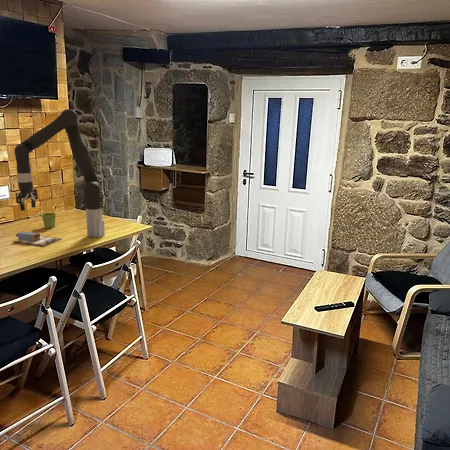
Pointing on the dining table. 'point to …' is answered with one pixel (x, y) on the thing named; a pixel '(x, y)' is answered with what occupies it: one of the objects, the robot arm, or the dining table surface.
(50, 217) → the plant pot
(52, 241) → the clipboard
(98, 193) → the robot arm
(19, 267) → the dining table surface
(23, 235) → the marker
